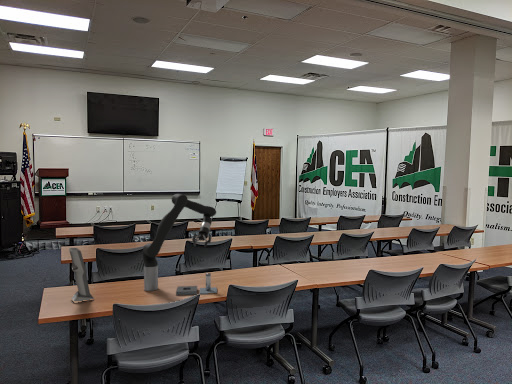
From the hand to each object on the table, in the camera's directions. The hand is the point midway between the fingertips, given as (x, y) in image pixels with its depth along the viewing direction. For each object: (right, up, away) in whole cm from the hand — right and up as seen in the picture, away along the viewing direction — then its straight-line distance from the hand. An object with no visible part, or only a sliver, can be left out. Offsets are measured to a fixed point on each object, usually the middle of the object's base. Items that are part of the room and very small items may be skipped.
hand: (199, 246), depth 285 cm
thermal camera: (-73, -31, -33) cm, 86 cm away
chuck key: (+9, -29, -16) cm, 34 cm away
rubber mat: (+9, -30, -16) cm, 35 cm away
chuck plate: (-6, -30, -18) cm, 35 cm away
